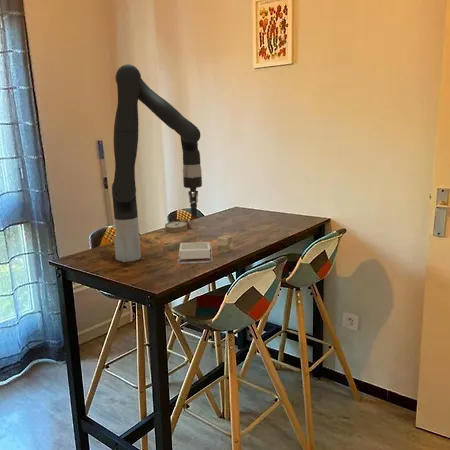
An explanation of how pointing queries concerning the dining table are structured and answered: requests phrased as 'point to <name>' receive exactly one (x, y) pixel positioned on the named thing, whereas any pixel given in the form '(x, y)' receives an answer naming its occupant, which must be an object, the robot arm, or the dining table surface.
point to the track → (198, 260)
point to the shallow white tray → (194, 250)
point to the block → (225, 243)
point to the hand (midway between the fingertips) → (194, 214)
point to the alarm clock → (177, 226)
